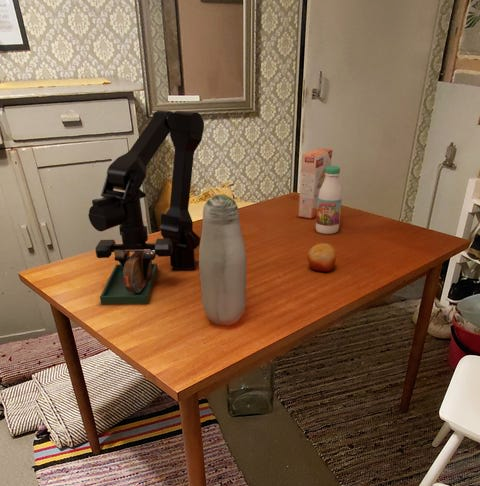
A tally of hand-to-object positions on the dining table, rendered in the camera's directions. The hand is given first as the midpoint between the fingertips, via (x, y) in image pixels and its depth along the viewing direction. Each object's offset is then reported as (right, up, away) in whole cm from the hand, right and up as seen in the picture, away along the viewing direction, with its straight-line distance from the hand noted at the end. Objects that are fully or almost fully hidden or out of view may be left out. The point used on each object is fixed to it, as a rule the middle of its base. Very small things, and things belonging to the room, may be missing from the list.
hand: (139, 279), depth 129 cm
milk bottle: (+56, +25, +37) cm, 72 cm away
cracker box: (+53, +37, +53) cm, 84 cm away
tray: (-3, -1, +3) cm, 4 cm away
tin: (0, -1, +1) cm, 2 cm away
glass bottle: (+23, -13, -14) cm, 30 cm away
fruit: (+49, +5, +11) cm, 51 cm away
